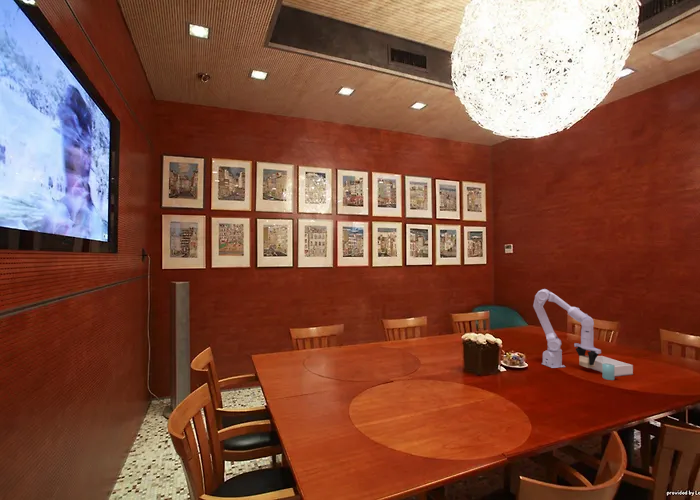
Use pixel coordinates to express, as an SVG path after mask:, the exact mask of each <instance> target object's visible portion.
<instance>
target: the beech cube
mask: <svg viewBox="0 0 700 500" xmlns="http://www.w3.org/2000/svg"><path fill="white" fill-rule="evenodd" d="M578 360H579V363H578V365H579V366H581V367H584V368H587V369H591V367H595V362H594V365H590V364H589V355H588V354H587V355H586V354H585V356H579V355H578Z"/></svg>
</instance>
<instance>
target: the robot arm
mask: <svg viewBox="0 0 700 500" xmlns="http://www.w3.org/2000/svg"><path fill="white" fill-rule="evenodd" d="M547 301H548V302H551V303H555V304H556V305H558V306H559V307H561V308H562V309H563V310H566V311H567V315H568V316H569V317H570V318H572V319H574V320H575V321H576V322H578V323H580V325H581V330H580V343H579V342H578V343H577V342H574V344H573V345H574V348H575V351H576V353H577V354H578V357H579V356H585V355H586V352H587V356H589V364H590V365H594V362H595V359H596V357H597V356H600V354H602V349H600V348H596V347H595V346H594V333H595V332H594V326H595V323H594V321H595V320H594V319H593V317H591V316H590V315H588V313H585V312H583V311H582V310H580V309H581V308H579V307H576V306H571V305H570V304H568V302H566V301H564V300H563V299H562V298H560V297H559V296H558V295H556V294H555V293H553V292H552V291H550V290H548V289H546V288H542V289H540V290H538V291H537V293H535V295H534V300H533V305H532V307H533V309H534V311H535V313H536V316H537V318H538V320H539V323H540V324H541V327H542V329H543V332H544V334H545V337H546V341H547V343H546V344H547V350H545V351H543V352H542V362H541V365H544V366H546V367H549V368H551V369H556V368H558V369H559V368H566V366H565V365H564V364H563V355H562V354H563V353H562V352H563V350H562V348H561V346H562V340H561V339H560V338H559V337H558V335H557V333H556V332H555V329H554V328H553V326H552V324H551V322H550V319H549V317H548V314H547V312H546V310H545V308H544V306H545V304H546V302H547Z"/></svg>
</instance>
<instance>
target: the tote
mask: <svg viewBox="0 0 700 500" xmlns="http://www.w3.org/2000/svg"><path fill="white" fill-rule="evenodd" d="M603 363H607V364H612V365H614V366H615V377H622V376H632V375H634V373H633V372H634V365H633V364H630V363H626V362H625V361H624V362H623V361H619V360H616V359H613V358H611V357H607V356H603V355H598V356H597V357H596V359H595V367H591V368H590V369H592V370H594V371H597V372H600V373H602V364H603Z"/></svg>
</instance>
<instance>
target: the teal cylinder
mask: <svg viewBox="0 0 700 500" xmlns="http://www.w3.org/2000/svg"><path fill="white" fill-rule="evenodd" d="M601 373H602V375H601V376H602V377H601V378H603V379H604V380H607V381H614V380H615V378H616V376H615V366H614V365H612V364H607V363H603V364H602V372H601Z"/></svg>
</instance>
